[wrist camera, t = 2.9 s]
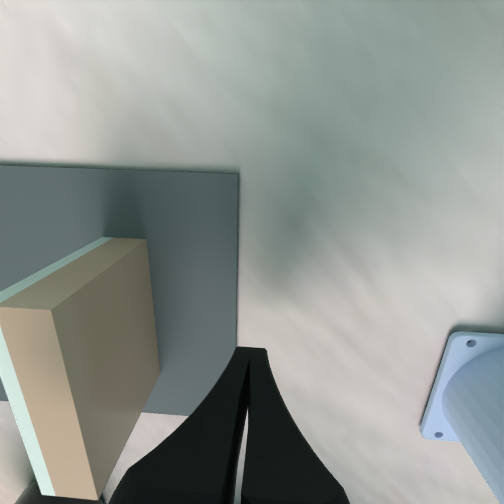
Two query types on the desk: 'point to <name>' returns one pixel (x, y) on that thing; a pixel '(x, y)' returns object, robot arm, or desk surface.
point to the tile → (80, 361)
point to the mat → (159, 253)
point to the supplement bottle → (49, 497)
